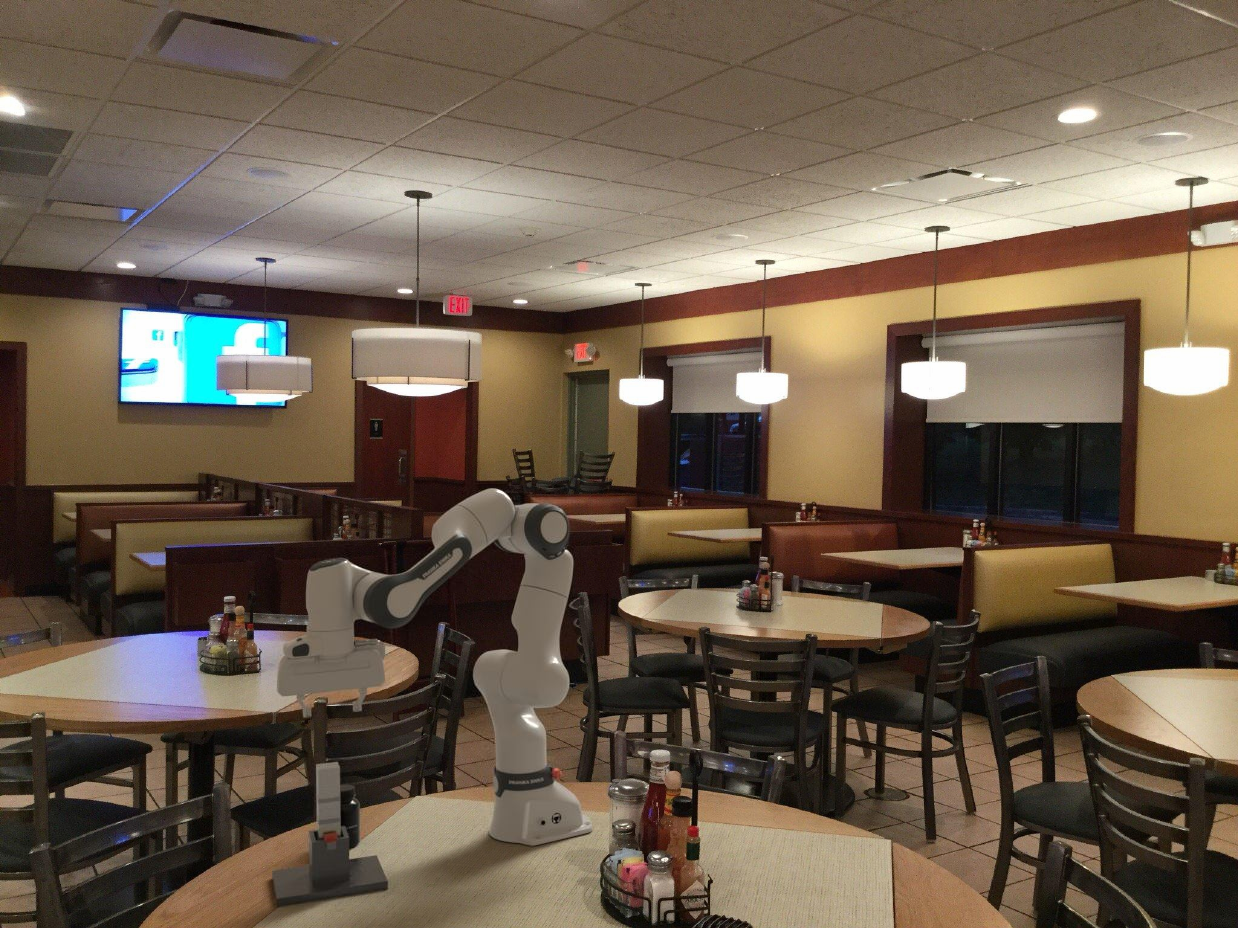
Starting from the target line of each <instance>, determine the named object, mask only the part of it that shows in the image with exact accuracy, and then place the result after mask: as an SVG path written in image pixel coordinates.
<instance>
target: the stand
mask: <svg viewBox="0 0 1238 928" xmlns="http://www.w3.org/2000/svg"><path fill="white" fill-rule="evenodd" d="M308 861H309V862H308V865H301V866H296V867H288V868H283V869H282V868H281V869H276V870H272V872H271V874H272V884H273V891H274V898H275V907H277V908H278V907H285V906H291V905H297V904H303V903H311V902H316V901H321V900H322V901H323V900H328V899H334V898H341V897H347V896H352V895H359V894H364V893H370V892H372V893H373V892H377V891H383V890H388V889H389V887H388V886H389V881H388V879H387V876H386V873H385V871H384V869H383V867H382V864H381V863H380V860H379V858H378V855H377V854H375V855H369V856H368V855H367V856H362V857H355V858H350V848H349V836H348V833H347V831H346V828H345V826H341V837H339V838H337V833H330V834H324V840H318V841H317V829H313V830H308Z"/></svg>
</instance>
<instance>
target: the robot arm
mask: <svg viewBox="0 0 1238 928" xmlns="http://www.w3.org/2000/svg"><path fill="white" fill-rule="evenodd" d="M570 527H571V526H570V521H569V518H568V515H567V513H566V512H565V511H564V510H563V509H562V508H561V507H559V506H557V505H554V504H551V503H545V502H543V503H535V502H532V503H530V502H529V503H523V504H517V505H515V504H514V503H513V501H512V499H511V498H510V496H509V495H508V494H507V493H506V492H504V491H503V490H501V489H498V488H487V489H484V490H481V491H479V492H478V493H475V494H473V495H471V496H469V497H467V498H465V499H464V500H462V501H461V502H459V503H457V504H455V505H454V506H453V507H451V508H450V509H449V510H447V511H446V512H445V513H443V514H442V515H441V516H440V517H439V518H438V519H437V520H436V521H435V523H434V524H433V525H432V528H431V541H432V544H433V546H434V549H433V550H431V551H430V553H428V554H427V555H425V556H424V557H423V558H422V559H421V560H420V561H418V562H417V563H416V564H414V565H413V566H412V567H410V569H407V571H405V572H402V573H401V572H400V573H398V574H384V573H381V572H377V571H376V572H375V571H371V570H368V569H365V568H362V567H360V566H358V565H356V564H354V563H352V562H351V561H349V559H347V558H344V557H334V558H328V559H324V560H320V561H318V562H315V563H314V564H312V565H311V567H310V568H309V570H308V572H307V577H306V586H305V587H306V588H305V609H306V611H307V615H308V619H307V623H306V634H304V635H301V636H299V637H297V638H293V639H291V640H289V641H286V642H285V643H283V645H282V646H283V647H282V652H283V656H282V657H281V659H280V660H279V664H278V669H277V675H276V676H277V677H276V678H277V679H276V691H277V693H278V694H279V696H281V697H290V696H296V701H297V702H298V704H299V705H300V706H301V707H300V708H302V717H303V718H310V717H311V718H312V706H311V705H306V703H304V700H305V699H306V695H309V694H311V695H312V694H321V693H329V692H339V691H347V690H348V691H349V690H350V691H351V690H358V693H359V694H358V695H359V696H358V698H357V699H356V700H354V701H352V711H353V712H354V713H355V712H362V710H363V708H362V707H363V706H362V703H363V701H364V700H365V698H366V695H367V694H368V689H369V688H378V687H382V686H383V685H384V684H385V682H386V673H385V667H384V661H383V660H384V659H385V657H386V646H385V644H384V643H383V641H381V640H378V639H377V638H371V639H359V640H358V639H357V640H355V626H354V625H355V621H356V620H363V621H367V622H370V623H374V624H376V625H378V626H381V627H382V628H385V629H398V628H401V627H403V626H405V625H406V624H408V623H409V622H410V621H411V620H412V619H413V618H414V617H415V615H417V612H418V611H419V609H420V607H422V604H423V603H424V602H425V601H426V600H427V598H428V597H429V596H430V595H432V594H433V592H435V591H436V590H437V589H438V588H439V587H441V586H442V585H443V584H444V583H446V581H447V580H449V579H450V578H451V577H453V575H455V574H456V573H457V572H458V571H459V570H460V569H461V568H462V567H464V566H465V564H466V563H467V562H469V560H470V559H472V558H474V556H475V555H477V554H479V553H480V552H482V551H483V550H484V549H486V548H487V547H488V546H490V545H491V544H492V543H493V544H494V545H496V547H498V548H499V549H500V550H502V551H504V552H507V553H511V554H517V553H518V554H524V555H523V556H524V559H525V567H524V568H525V569H524V570H525V571H524V573H523V577H522V580H521V582H520V586H519V590H518V593H517V596H516V600H515V604H514V608H513V611H512V614H511V623H512V625H513V627H514V629H515V630H516V633H517V637H518V641H517V642H518V646H517V647H518V648H517V651H515V650H509V649H503V648H502V649H495V650H490V651H489V650H488V651H485V652H484V653H483V654H481V655H480V656H479V657H478V658H477V660H476V661H475V664H474V667H473V670H472V672H473V673H472V678H473V682H474V685H475V687H476V688H477V689H478V691H479V692H480V693H481V696H482V697H483V698H484V701H485V703H486V705H487V709H488V712H489V715H490V718H491V722H492V726H493V731H494V739H495V740H494V743H495V766H494V768H493V792H494V806H493V813H492V819H491V824H490V827H489V831H488V834H489V836H490V837H492V838H493V839H495V840H498V841H502V842H508V843H515V844H517V843H518V844H523V845H527V846H537V845H542V844H543V845H544V844H546V843H550V842H551V843H552V842H556V841H559V840H564V839H567V838H572V837H575V836H580V835H584V834H589V833H590V832H592V831H593V822H592V820H591V819H590V817H588V816H587V815H586V814H585V813H583V812H582V806H581V803H580V801H579V799H578V798H577V796H576V795H575V794H574V793H573V792H572V791H570V790H569V789H568V788H566V787H565V786H564V785H562V784H561V783H559V782H557V781H556V780H560V779H562V777H563V772H562V771H561V770H560V769H559V768H557V767H554V766H553V765H551V764H549V763H548V762H547V731H546V728H545V726H544V725H543V723H542V722H541V721H540V720H539V718H538V716H537V714H536V713H535V710H534V709H543V708H544V709H546V708H553V707H556V706H559V705H560V704H561V703H562V702H563V701H564V699H565V698H566V697H567V694H568V692H569V689H570V675H569V671H568V669H566V667H565V664H564V663H563V661H562V656H561V650H560V649H561V648H560V635H561V628H562V627H561V626H562V623H563V619H564V615H565V611H566V607H567V605H568V599H569V595H570V591H571V587H572V586H571V585H572V582H573V574H574V573H573V571H574V557H573V554H572V553H571V552H570V551H569V550H568V548H569V544H570V541H569V540H570V531H571V529H570Z"/></svg>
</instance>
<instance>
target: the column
mask: <svg viewBox="0 0 1238 928" xmlns="http://www.w3.org/2000/svg"><path fill="white" fill-rule="evenodd" d="M315 777H316V780H315V783H316V785H315V787H316V792H315V793H316V794H315V798H316V816H315V817H316V830H317V841H318V840H324V834H330V833H337V838H339V837H341V823H340V822H341V817H340V801H341V797H340V785H341V767H340V765H339V762H338V761H333V762H325V763H316V765H315Z"/></svg>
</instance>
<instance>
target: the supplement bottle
mask: <svg viewBox="0 0 1238 928" xmlns="http://www.w3.org/2000/svg"><path fill="white" fill-rule="evenodd" d="M340 797H341V801H340V817H341V822H340V823H341V826H345V828H346V831H347V833H348V836H349V849H352V848H355V847H356V846H358V844H360V838H361V835H360V834H361V828H360V827H361V822H360V821H361V820H360V819H361V806H360V805H361V803H360V801H359V800H358V799H357V798H356V787H355V786H354V785H351V784H342V785H341V784H340Z"/></svg>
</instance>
